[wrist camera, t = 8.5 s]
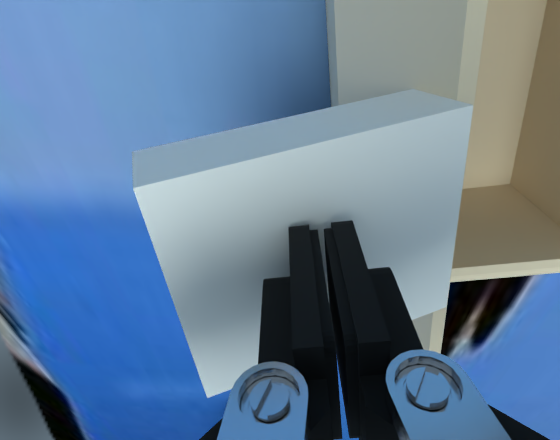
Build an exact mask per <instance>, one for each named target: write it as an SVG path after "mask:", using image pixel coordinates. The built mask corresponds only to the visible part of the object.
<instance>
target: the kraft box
mask: <svg viewBox="0 0 560 440" xmlns="http://www.w3.org/2000/svg"><path fill="white" fill-rule="evenodd" d="M325 2H326V21H327V39H328V58H329V76H330V95H331V107H334V106H338V105H339V101H338V79H337V56H336V33H335V10H334V0H325ZM549 273H560V0H488V4H487V11H486V19H485V26H484V33H483V41H482V48H481V56H480V63H479V71H478V78H477V86H476V93H475V100H474V108H473V115H472V123H471V130H470V138H469V145H468V152H467V160H466V167H465V175H464V182H463V190H462V197H461V205H460V212H459V219H458V227H457V234H456V242H455V249H454V257H453V264H452V272H451V279H450V282H458V281H470V280H481V279H492V278H504V277H515V276H526V275H537V274H549Z"/></svg>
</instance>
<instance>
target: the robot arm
mask: <svg viewBox="0 0 560 440" xmlns="http://www.w3.org/2000/svg"><path fill="white" fill-rule="evenodd" d="M288 231H289V261H290V276H289V277H278V278H268V279H264V280H263V290H262V306H261V322H260V339H259V355H258V365H255V366H252V367H251V368H249V369H248V370H246V371H245V372H243V373H242V374H241V376H240V377H239V378H238V379H237V380H236V381H235V383H234V386H233V388H232V390H231V392H230V395H229V399H228V402H227V406H226V409H225V413H224V416H223V418H222V419H221V420H220V421H219V422H218V423H217V424H216V425H215V426H214V427H212V428H211V429H210V430H209V431H208V432H207V433H206V434H205V435H204V436H203V437H202V438H201V439H199V440H333V439H342V428H341V414H340V400H339V385H338V371H337V361H338V367H339V374H340V380H341V387H342V393H343V400H344V406H345V413H346V419H347V426H348V432H349V437H350V438H359V440H549V439H548V438H546V437H544V436H542V435H541V434H539V433H537V432H535V431H534V430H532V429H530V428H528V427H527V426H525V425H523V424H521V423H520V422H518V421H516V420H514V419H513V418H511V417H509V416H507V415H506V414H504V413H502V412H500V411H499V410H497V409H495V408H493V407H492V406H490V405H488V404H487V403H486V401H485V400H484V398H483V397H482V396H481V394H480V393H479V391H478V390H477V388H476V387H475V385H474V384H473V382H472V381H471V379H470V378H469V376H468V375H467V374H466V372H465V371H464V370H463V369H462V368H461V367H460V366H459V365H458V364H457V363H456V362H454V361H453V360H451V359H450V358H449V357H447V356H445V355H442V354H440V353H437V352H435V351H429V350H424V349H423V347H422V344H421V342H420V339H419V337H418V334H417V332H416V329H415V327H414V324H413V322H412V319H411V317H410V314H409V312H408V309H407V307H406V304H405V302H404V299H403V297H402V294H401V292H400V289H399V287H398V284H397V282H396V279H395V277H394V274H393V272H392V270H391V268H390V267H383V268H372V269H368V267H367V264H366V261H365V258H364V255H363V252H362V248H361V245H360V242H359V239H358V236H357V233H356V229H355V226H354V223H353V221H352V220H350V221H340V222H331V228H326V229H324V241H325V254H326V267H327V280H328V292H327V286H326V280H325V273H324V267H323V260H322V254H321V247H320V241H319V235H318V229H316V230H309V225H302V226H292V227H288ZM328 293H329V299H328ZM336 354H337V357H336Z"/></svg>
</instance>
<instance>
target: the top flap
mask: <svg viewBox="0 0 560 440" xmlns="http://www.w3.org/2000/svg"><path fill="white" fill-rule="evenodd" d="M487 4H488V0H334V10H335V33H336V56H337V79H338V101H339V105H338V106H334V107H329V108H325V109H320V110H316V111H312V112H307V113H303V114H298V115H294V116H289V117H285V118H280V119H276V120H271V121H267V122H262V123H258V124H253V125H249V126H244V127H240V128H235V129H231V130H227V131H222V132H218V133H213V134H209V135H204V136H200V137H195V138H191V139H186V140H182V141H177V142H173V143H168V144H164V145H159V146H155V147H150V148H146V149H141V150H137V151H133V152H132V168H133V189H134V192H135V195H136V198H137V201H138V203H139V206H140V209H141V212H142V215H143V218H144V220H145V223H146V226H147V229H148V232H149V235H150V237H151V240H152V243H153V246H154V249H155V252H156V254H157V257H158V260H159V263H160V266H161V268H162V271H163V274H164V277H165V280H166V283H167V285H168V288H169V291H170V294H171V297H172V300H173V302H174V305H175V308H176V311H177V314H178V316H179V319H180V322H181V325H182V328H183V331H184V333H185V336H186V339H187V342H188V345H189V348H190V350H191V353H192V356H193V359H194V362H195V364H196V367H197V370H198V373H199V376H200V379H201V381H202V384H203V387H204V390H205V393H206V396H207V398H209V397H211V396H214V395H217V394H219V393H222V392H225V391H227V390H230V389H232V388H233V386H234V383H235V381H236V380H237V379H238V378H239V377H240V376H241V374H242V373H243V372H245V371H246V370H248V369H249V368H251V367H252V366H255V365H258V355H259V339H260V322H261V306H262V290H263V280H264V279H268V278H278V277H289V276H290V261H289V231H288V227H292V226H302V225H309V230H316V229H318V235H319V241H320V247H321V254H322V260H323V267H324V273H325V280H326V286H327V292H328V280H327V267H326V254H325V241H324V229H326V228H331V222H340V221H350V220H352V221H353V223H354V226H355V229H356V233H357V236H358V239H359V242H360V245H361V248H362V252H363V255H364V258H365V261H366V264H367V267H368V269H372V268H383V267H390V268H391V270H392V272H393V274H394V277H395V279H396V282H397V284H398V287H399V289H400V292H401V294H402V297H403V299H404V302H405V304H406V307H407V309H408V312H409V314H410V317H411V319H412V322H413V324H414V327H415V329H416V332H417V334H418V337H419V339H420V342H421V344H422V347H423V349H424V350H429V351H435V352H437V353H441V346H442V338H443V331H444V324H445V316H446V309H447V301H448V294H449V286H450V279H451V272H452V264H453V257H454V249H455V242H456V234H457V227H458V219H459V212H460V205H461V197H462V190H463V182H464V175H465V167H466V160H467V152H468V145H469V138H470V130H471V123H472V115H473V108H474V100H475V93H476V86H477V78H478V71H479V63H480V56H481V48H482V41H483V33H484V26H485V19H486V11H487ZM328 299H329V293H328Z"/></svg>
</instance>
